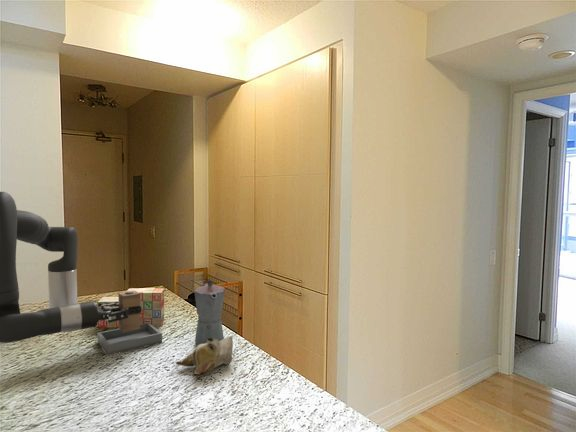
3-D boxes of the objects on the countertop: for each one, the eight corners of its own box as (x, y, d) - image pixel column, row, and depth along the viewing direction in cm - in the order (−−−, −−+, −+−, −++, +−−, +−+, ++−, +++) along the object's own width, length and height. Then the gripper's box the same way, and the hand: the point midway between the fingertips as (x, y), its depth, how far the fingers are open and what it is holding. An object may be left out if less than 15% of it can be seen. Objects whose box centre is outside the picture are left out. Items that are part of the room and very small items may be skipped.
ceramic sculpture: (242, 336, 106) (192, 354, 96) (243, 366, 107) (194, 387, 97) (221, 325, 114) (173, 341, 104) (222, 354, 114) (175, 372, 105)
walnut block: (118, 327, 122) (118, 292, 121) (135, 324, 125) (134, 290, 124) (123, 332, 118) (123, 295, 117) (140, 328, 121) (140, 293, 120)
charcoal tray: (97, 342, 121) (97, 332, 121) (148, 331, 131) (148, 322, 131) (107, 355, 112) (107, 345, 112) (162, 342, 122) (162, 333, 122)
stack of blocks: (97, 328, 134) (96, 293, 133) (103, 322, 140) (102, 288, 139) (161, 326, 136) (161, 292, 136) (164, 320, 143) (164, 287, 142)
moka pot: (199, 353, 114) (200, 287, 113) (187, 335, 128) (187, 276, 127) (230, 348, 119) (231, 283, 117) (215, 331, 132) (216, 273, 131)
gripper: (82, 310, 106) (145, 300, 117) (72, 298, 117) (131, 290, 128) (83, 337, 106) (145, 324, 117) (73, 322, 118) (131, 312, 128)
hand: (137, 307), depth 122 cm, fingers closed on walnut block, 5 cm apart
